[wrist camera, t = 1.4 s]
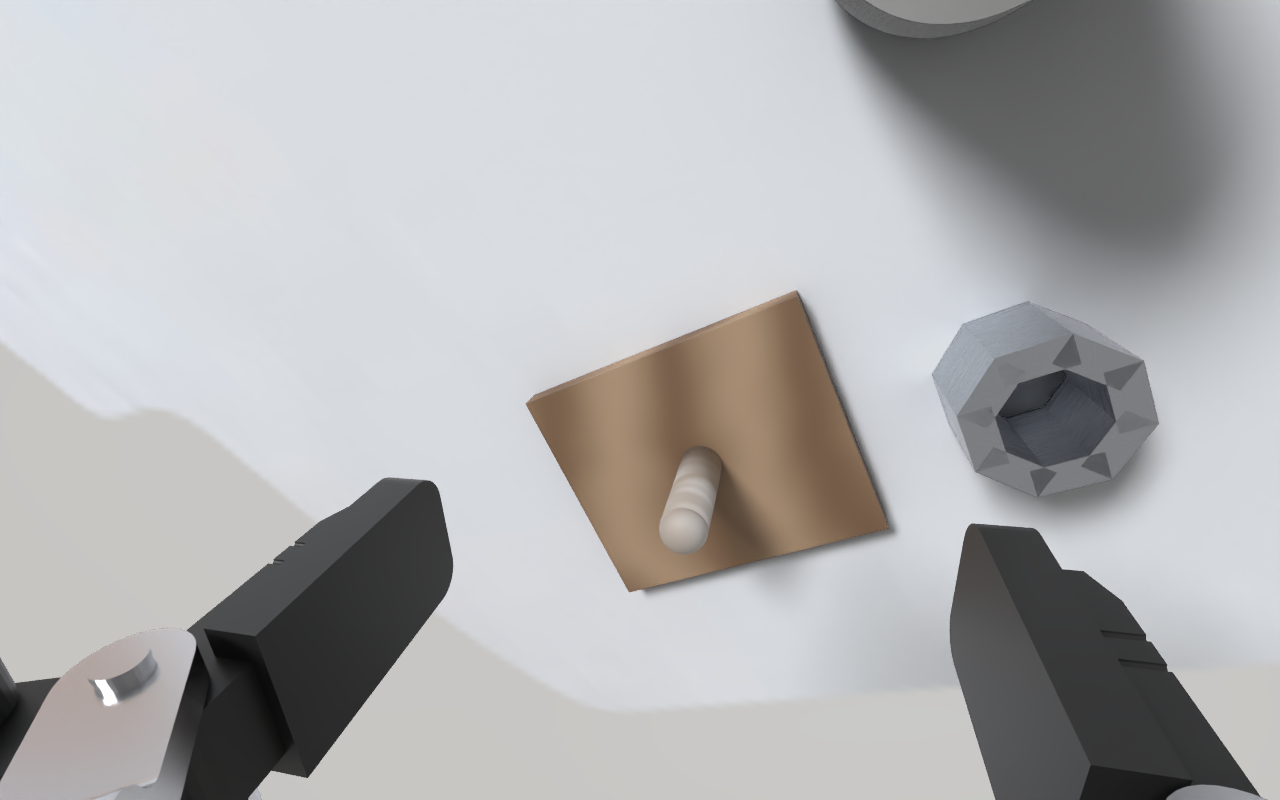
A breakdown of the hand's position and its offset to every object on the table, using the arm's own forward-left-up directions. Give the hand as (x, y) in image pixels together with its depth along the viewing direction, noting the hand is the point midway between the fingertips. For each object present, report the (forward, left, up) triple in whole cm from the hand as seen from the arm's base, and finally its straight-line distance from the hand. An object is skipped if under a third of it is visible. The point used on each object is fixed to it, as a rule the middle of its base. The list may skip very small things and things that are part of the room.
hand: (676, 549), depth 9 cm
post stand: (+5, +7, -20) cm, 22 cm away
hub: (-9, +8, -20) cm, 23 cm away
